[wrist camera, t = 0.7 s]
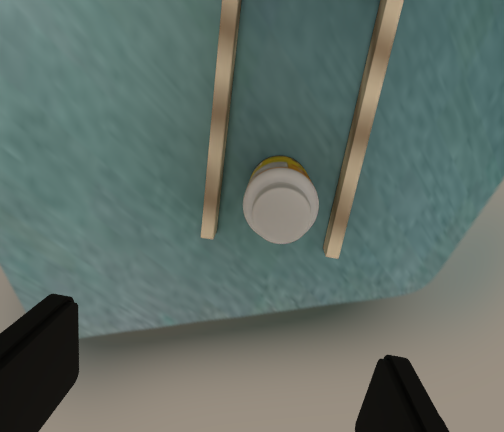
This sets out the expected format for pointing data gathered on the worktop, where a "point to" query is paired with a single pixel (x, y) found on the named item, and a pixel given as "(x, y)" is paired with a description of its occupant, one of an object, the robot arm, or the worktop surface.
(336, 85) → the worktop surface
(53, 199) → the worktop surface
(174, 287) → the worktop surface
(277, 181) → the supplement bottle
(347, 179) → the wooden frame
